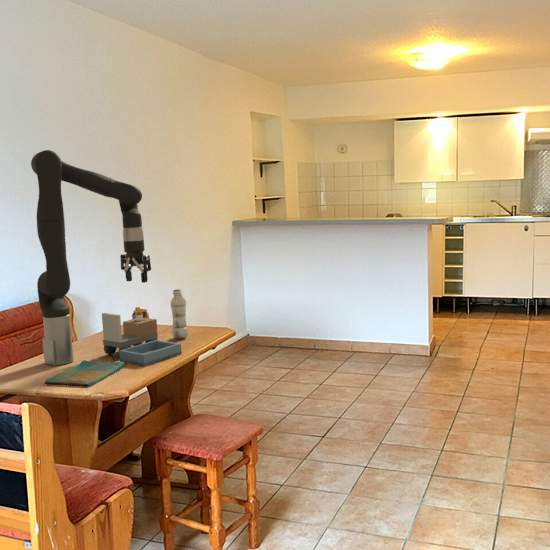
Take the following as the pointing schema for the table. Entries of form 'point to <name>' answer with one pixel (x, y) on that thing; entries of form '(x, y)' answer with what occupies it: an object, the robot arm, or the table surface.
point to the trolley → (126, 333)
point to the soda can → (145, 314)
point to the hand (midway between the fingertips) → (136, 281)
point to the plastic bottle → (179, 315)
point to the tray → (150, 352)
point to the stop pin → (139, 314)
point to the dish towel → (85, 374)
